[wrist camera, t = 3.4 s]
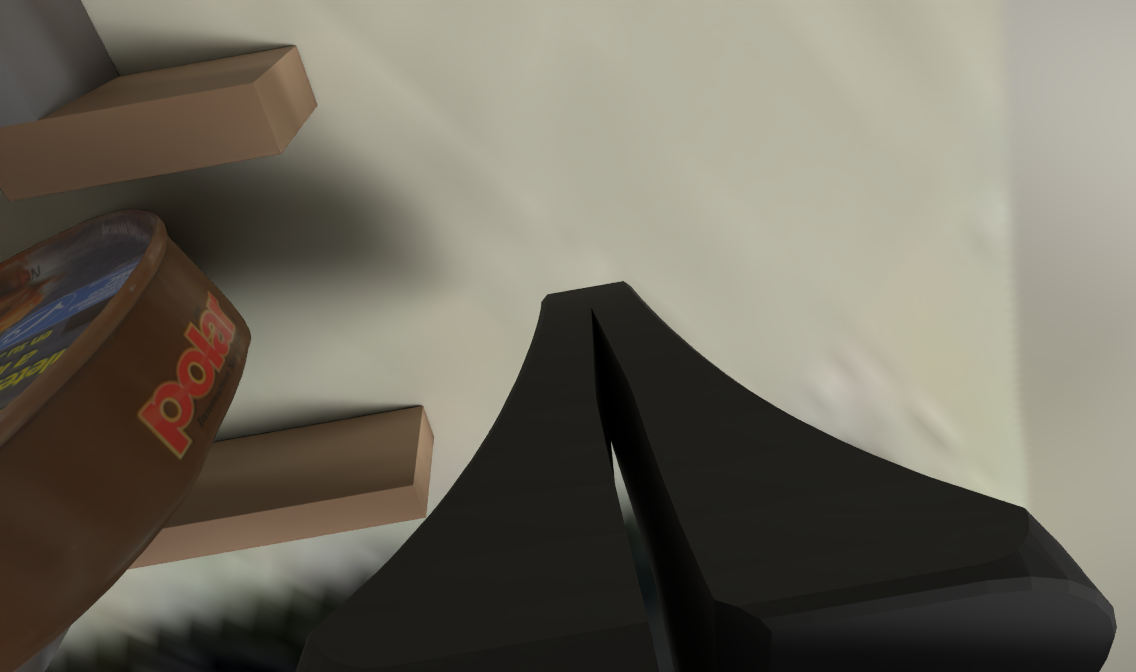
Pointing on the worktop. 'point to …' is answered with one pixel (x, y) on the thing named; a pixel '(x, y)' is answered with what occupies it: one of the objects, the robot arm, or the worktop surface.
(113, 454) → the tin
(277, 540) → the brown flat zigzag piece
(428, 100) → the worktop surface
